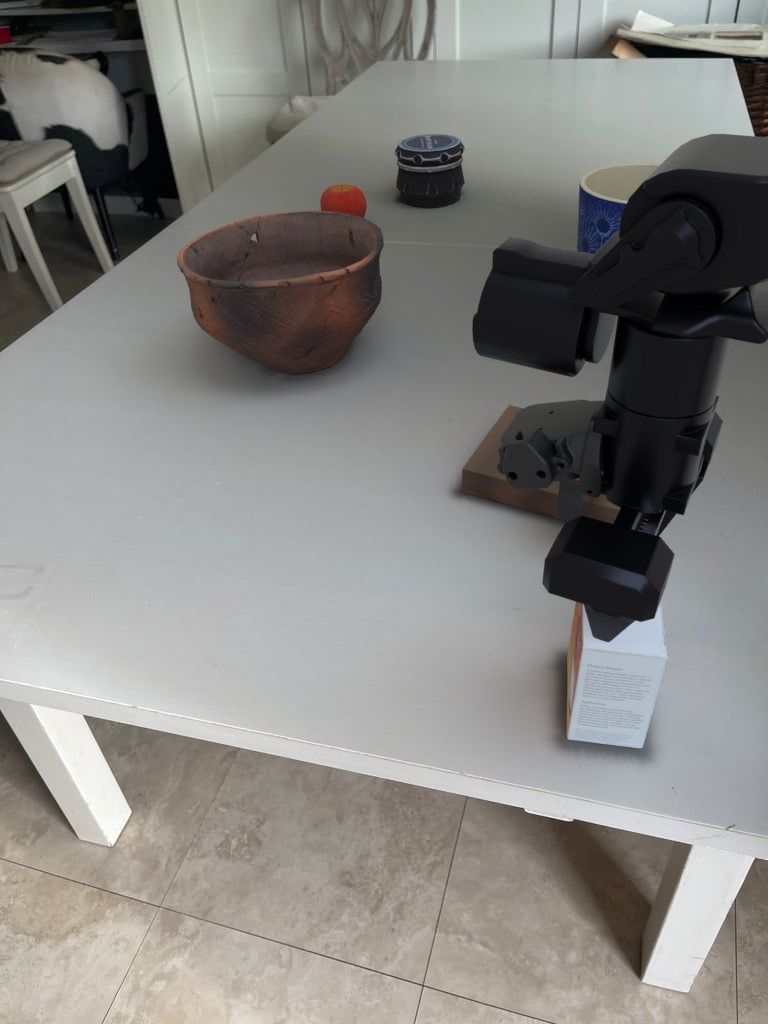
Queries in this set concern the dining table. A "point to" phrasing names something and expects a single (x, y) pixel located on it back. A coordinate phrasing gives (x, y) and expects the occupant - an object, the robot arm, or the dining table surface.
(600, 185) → the planter
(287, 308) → the bowl
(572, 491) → the grey block with red
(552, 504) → the base
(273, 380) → the dining table surface
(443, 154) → the container
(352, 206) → the apple
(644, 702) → the small box
